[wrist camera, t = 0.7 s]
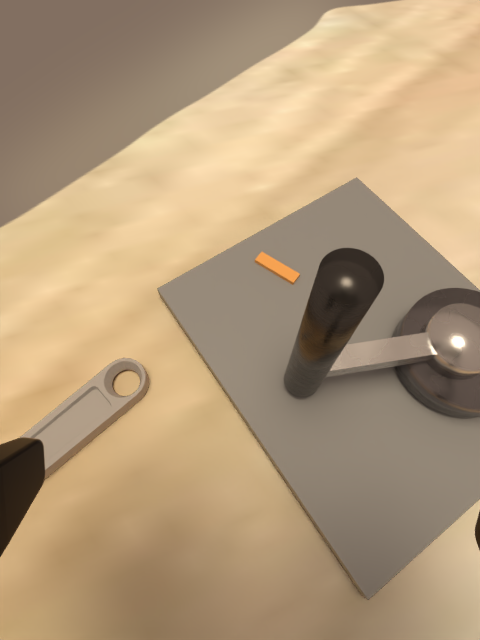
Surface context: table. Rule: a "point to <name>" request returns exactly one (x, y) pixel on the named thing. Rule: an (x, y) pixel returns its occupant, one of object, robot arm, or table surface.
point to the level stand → (336, 382)
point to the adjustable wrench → (86, 414)
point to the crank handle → (399, 351)
